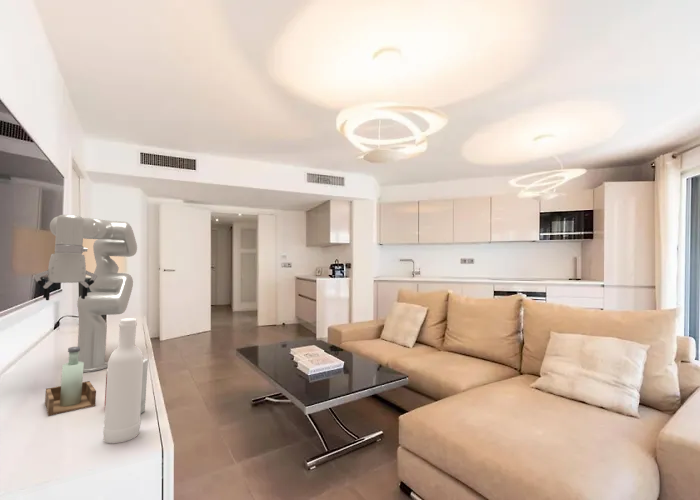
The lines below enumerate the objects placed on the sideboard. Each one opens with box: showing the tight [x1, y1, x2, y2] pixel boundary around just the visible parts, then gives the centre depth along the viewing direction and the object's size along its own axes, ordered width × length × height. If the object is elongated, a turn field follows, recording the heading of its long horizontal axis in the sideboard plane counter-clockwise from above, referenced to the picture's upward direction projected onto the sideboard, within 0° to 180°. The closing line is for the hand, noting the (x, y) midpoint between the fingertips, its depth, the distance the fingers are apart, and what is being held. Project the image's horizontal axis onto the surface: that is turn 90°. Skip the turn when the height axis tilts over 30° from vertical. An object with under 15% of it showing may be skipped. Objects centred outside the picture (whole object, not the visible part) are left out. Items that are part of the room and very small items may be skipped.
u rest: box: [44, 380, 97, 417], centre depth 107 cm, size 12×11×5 cm
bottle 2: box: [102, 317, 144, 444], centre depth 90 cm, size 8×8×30 cm
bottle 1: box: [60, 346, 84, 406], centre depth 107 cm, size 5×5×17 cm
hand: (65, 299), depth 120 cm, fingers open, 9 cm apart
